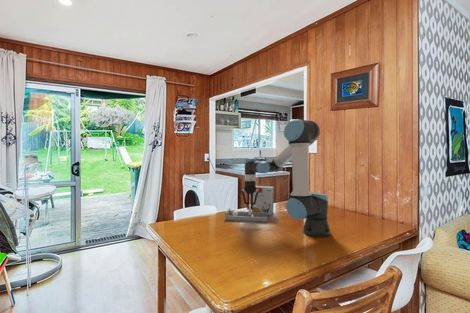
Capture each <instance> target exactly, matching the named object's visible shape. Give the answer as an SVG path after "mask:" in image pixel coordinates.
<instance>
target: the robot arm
mask: <svg viewBox="0 0 470 313" xmlns="http://www.w3.org/2000/svg"><path fill="white" fill-rule="evenodd" d="M320 134H321V128H320V126H319V125H318V123H317V122H315V121H314V120H306V119H301V118H297V119H294V118H293V119H290V120H289V121H288V122H287V123H286V124H285V126H284V129H283V135H284V136H283V137H284V138H285V140H287V141H288V145H287V146H286V148H284V149H283V150H282V151H281V152H280V153H279V154H278V155H277V156H276V157H275V158H273V159H272V160H269V161H268V160H266V161H265V160H264V161H257V159H256V157H246V158H245V159H244V187H243V189H241V190H240V192H241V194H242V200H243V203H244V205H246V210H248V212H249V215H251V212H252V209H253V205H255V203H256V199H257V195H258V193H259V190H257V189H256V186H257V185H256V184H257V183H256V178H257V174H267V173H278V172H281V171H282V170H283V169H284V166H285V165H286V164H288V162H290V161H291V168H292V171H291V173H292V176H291V177H292V191H291V193H289V194H290V195H289V196H290V197H289V199H288V200H287V202H286V204H285V207H286V211H287V214H288V215H289V216H290V218H292V219H294V220H297V221H298V220H299V221H300V220H305V221H304V225H303V228H302V232H303V233H304V234H306V235H307V236H311V237H317V238H323V237H328V236H329V237H330V236H331V227H330V224H329V221H328V215H329V214H328V213H329V212H328V209H329V208H328V204H329V200H328V195H327V194H325V193H319V192H311V191H310V183H309V182H310V180H309V179H310V178H309V176H310V174H309V153H308V152H309V150H308V149H309V146H311V145H312V144H314V143H315V142H316V141H317V140H318V138H319V137H320ZM256 173H257V174H256ZM255 191H256V196H255V200H254V202H253V193H254V192H255ZM245 193H246V194H245Z"/></svg>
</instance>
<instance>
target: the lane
mask: <svg viewBox="0 0 470 313" xmlns="http://www.w3.org/2000/svg"><path fill="white" fill-rule="evenodd" d="M233 211H234V210H231V208H230V207H229V208H228V209H226V211H225V216H224V217H225V218H224V220H225V221H231V222H232V221H233V222H248V223H249V222H250V223H251V222H252V223H268V217H269V216H268V213H267V212H252V211H251V215H249V211H240V210H238V211H237V210H236V211H237V212H238V215H237V216H233V215H232V213H233Z"/></svg>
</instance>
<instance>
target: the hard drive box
mask: <svg viewBox="0 0 470 313" xmlns="http://www.w3.org/2000/svg"><path fill="white" fill-rule="evenodd" d="M256 189H257V190H259V193H258V195H257V199H256V203H255V205H253V209H252V210H251V212H267V213H268V215H270V216H272V215H273V214H274V204H275V203H274V200H275V198H274V196H275V187H274V186H268V185H256ZM255 196H256V191H255V192H254V193H253V202H254V200H255Z"/></svg>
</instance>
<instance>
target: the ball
mask: <svg viewBox="0 0 470 313" xmlns="http://www.w3.org/2000/svg"><path fill="white" fill-rule="evenodd" d="M232 211H233V213H232V215H233V216H237V215H238V212H237V210H232Z"/></svg>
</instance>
